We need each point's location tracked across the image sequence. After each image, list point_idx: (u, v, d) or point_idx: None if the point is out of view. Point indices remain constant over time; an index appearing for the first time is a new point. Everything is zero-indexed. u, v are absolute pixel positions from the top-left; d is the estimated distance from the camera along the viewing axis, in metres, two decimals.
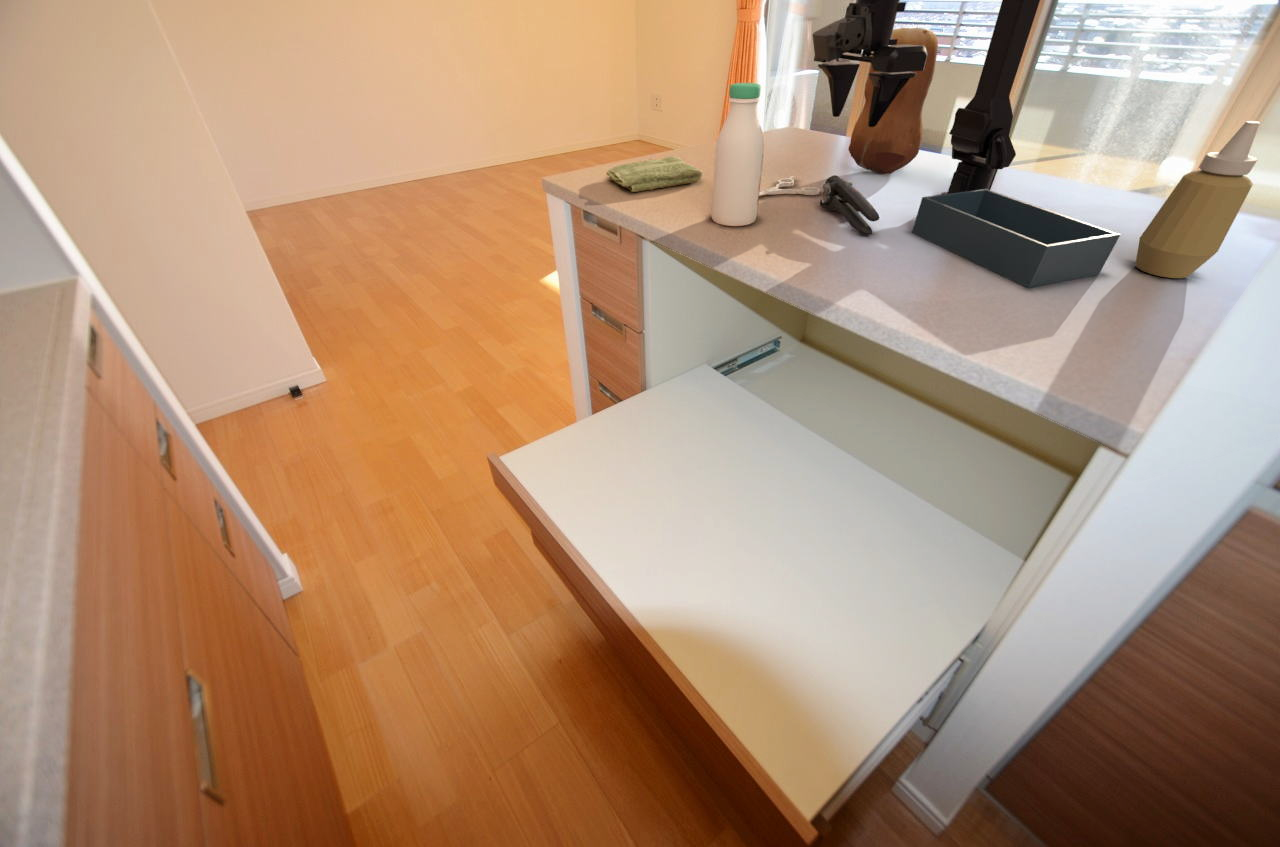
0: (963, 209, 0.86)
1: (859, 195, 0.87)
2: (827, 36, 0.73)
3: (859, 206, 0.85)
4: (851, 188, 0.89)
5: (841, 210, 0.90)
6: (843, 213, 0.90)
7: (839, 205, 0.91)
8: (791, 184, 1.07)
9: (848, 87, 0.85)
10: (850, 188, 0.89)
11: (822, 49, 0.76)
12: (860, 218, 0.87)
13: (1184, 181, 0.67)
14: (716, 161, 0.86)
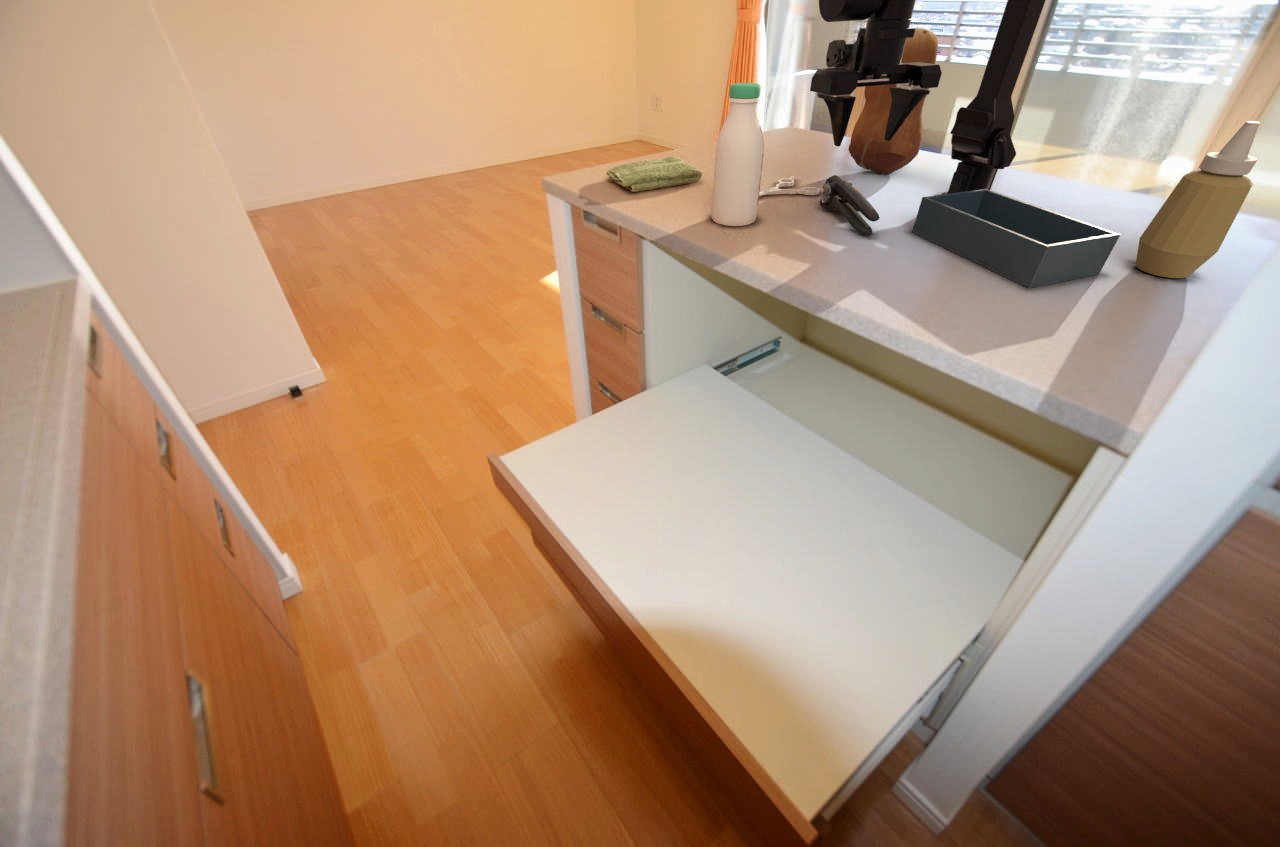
0: (963, 209, 0.86)
1: (859, 195, 0.87)
2: None
3: (860, 206, 0.85)
4: (851, 188, 0.89)
5: (841, 210, 0.90)
6: (843, 213, 0.90)
7: (839, 205, 0.91)
8: (791, 184, 1.07)
9: (900, 113, 0.82)
10: (850, 188, 0.89)
11: None
12: (860, 218, 0.87)
13: (1184, 181, 0.67)
14: (716, 161, 0.86)
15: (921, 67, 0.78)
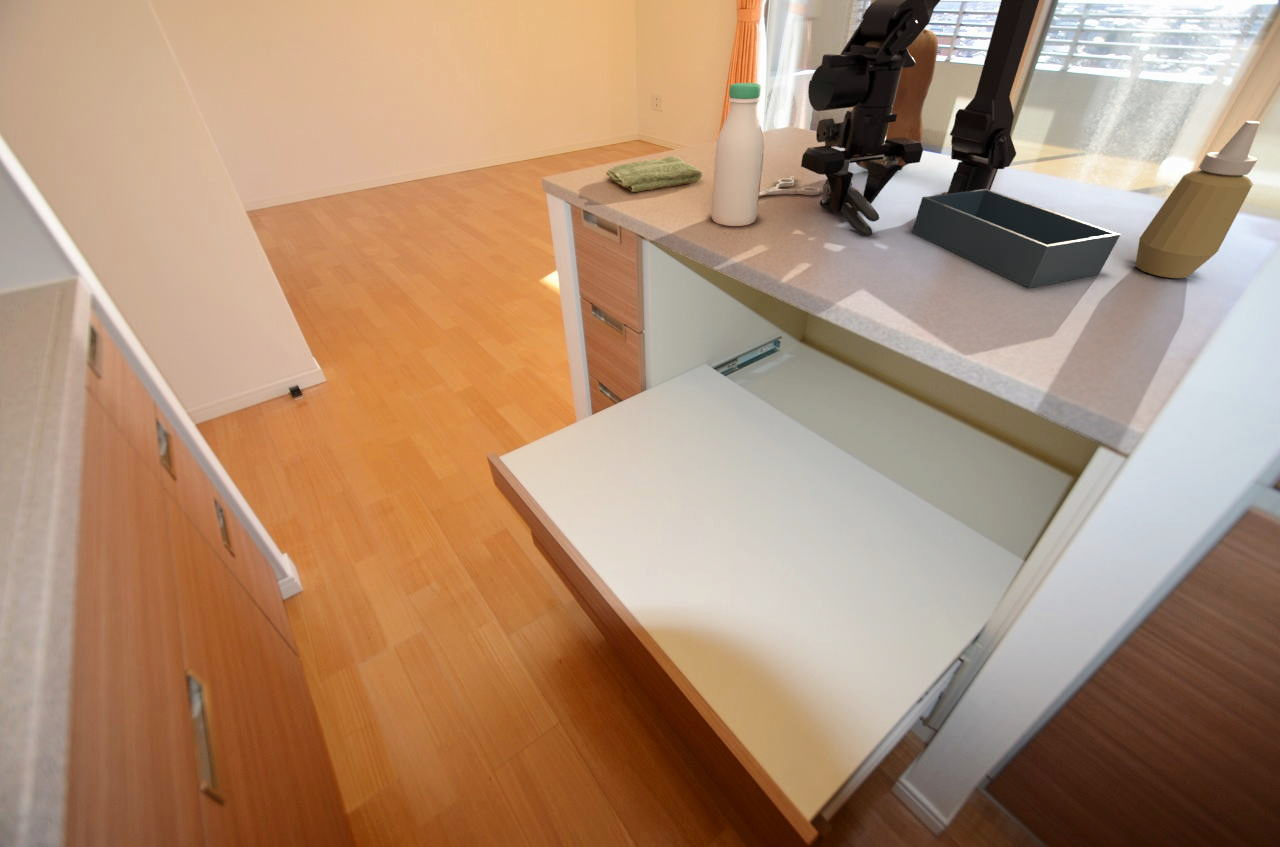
0: (963, 209, 0.86)
1: (859, 195, 0.87)
2: None
3: (859, 206, 0.85)
4: (851, 188, 0.89)
5: (841, 210, 0.90)
6: (843, 213, 0.90)
7: None
8: (791, 184, 1.07)
9: (875, 186, 0.88)
10: (850, 188, 0.89)
11: None
12: (860, 218, 0.87)
13: (1184, 181, 0.67)
14: (716, 161, 0.86)
15: (904, 145, 0.84)
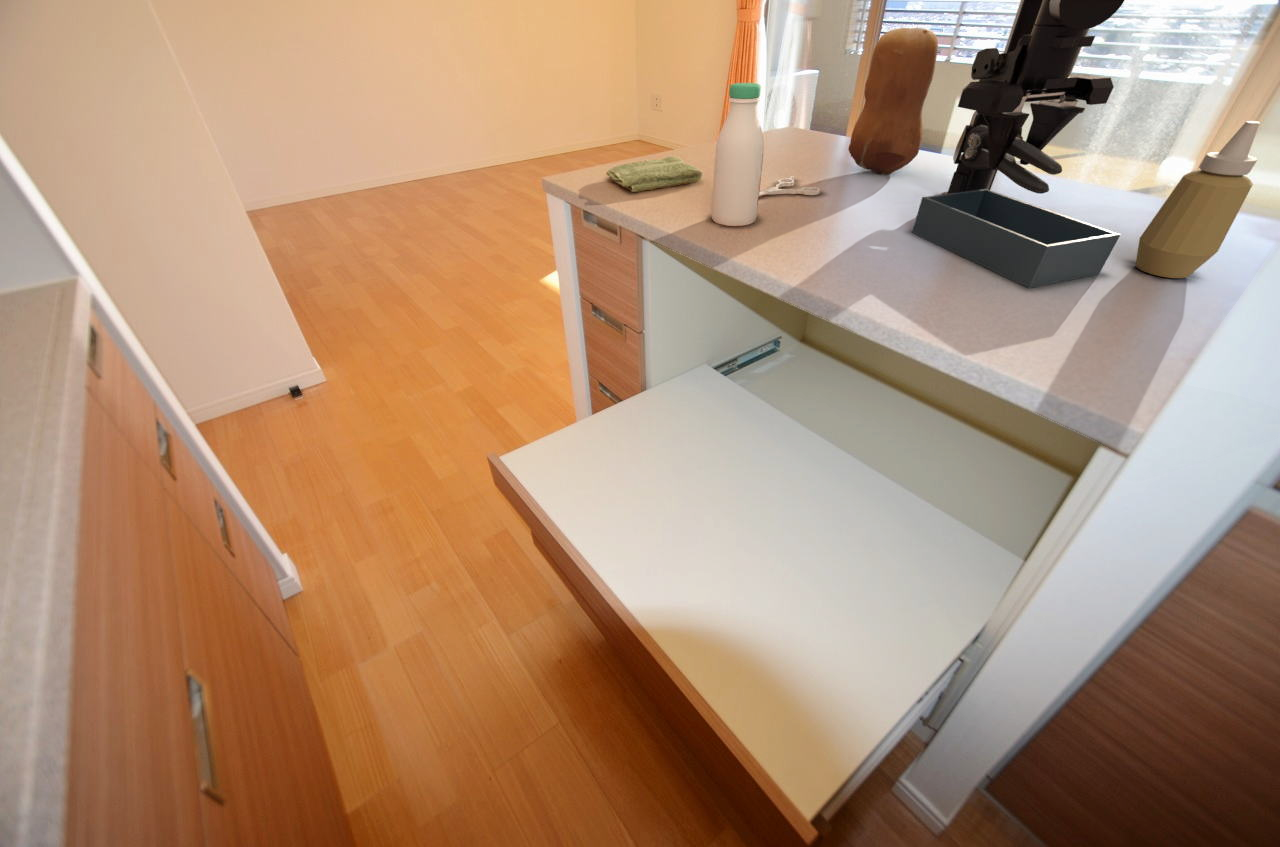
0: (963, 209, 0.86)
1: (1028, 144, 0.70)
2: None
3: (1033, 157, 0.68)
4: None
5: None
6: (1002, 168, 0.72)
7: None
8: (791, 184, 1.07)
9: (1045, 134, 0.71)
10: None
11: None
12: (1030, 172, 0.70)
13: (1184, 181, 0.67)
14: (716, 161, 0.86)
15: (1091, 80, 0.67)
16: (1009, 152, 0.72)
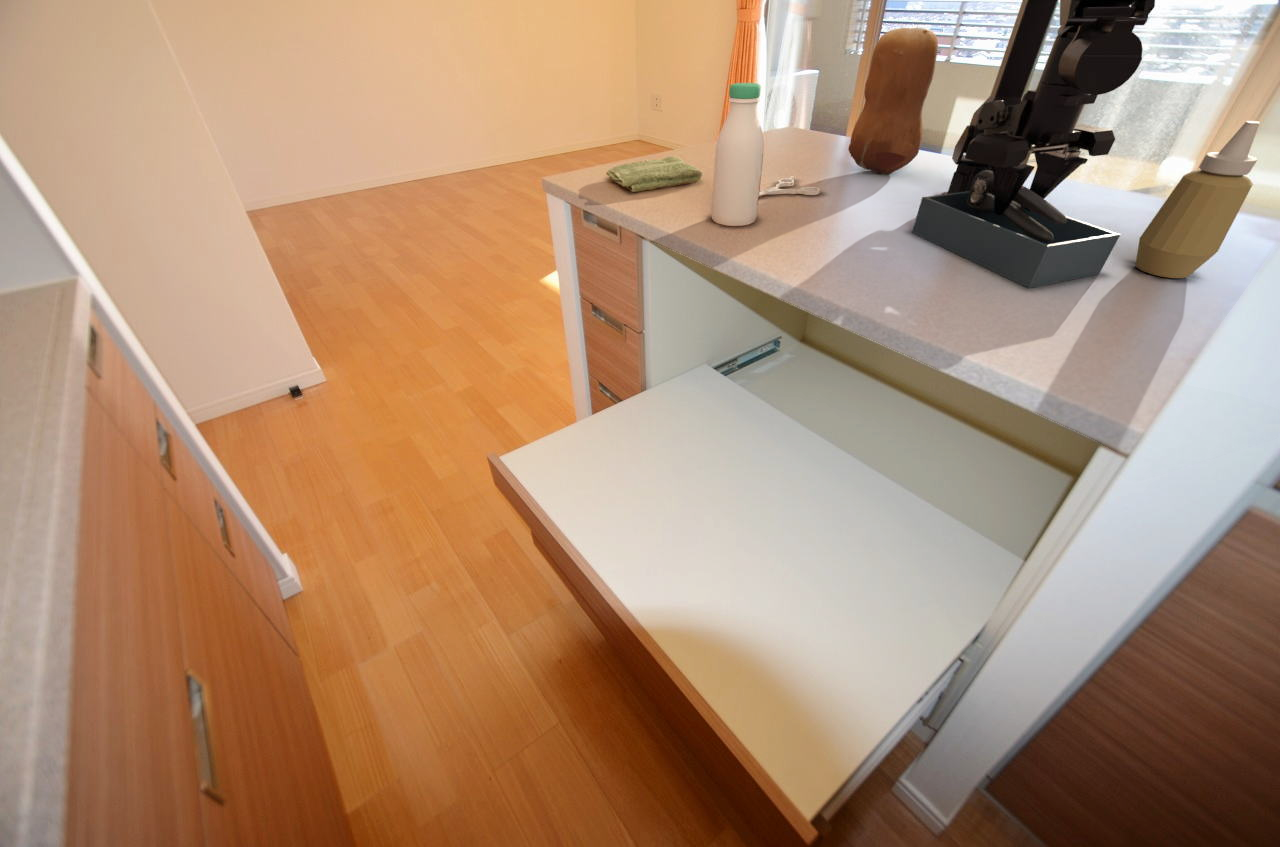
0: (963, 209, 0.86)
1: (1033, 193, 0.72)
2: None
3: (1039, 207, 0.70)
4: None
5: None
6: (1007, 215, 0.75)
7: None
8: (791, 184, 1.07)
9: (1049, 183, 0.73)
10: None
11: None
12: (1035, 221, 0.72)
13: (1184, 181, 0.67)
14: (716, 161, 0.86)
15: (1094, 133, 0.69)
16: (1014, 200, 0.74)
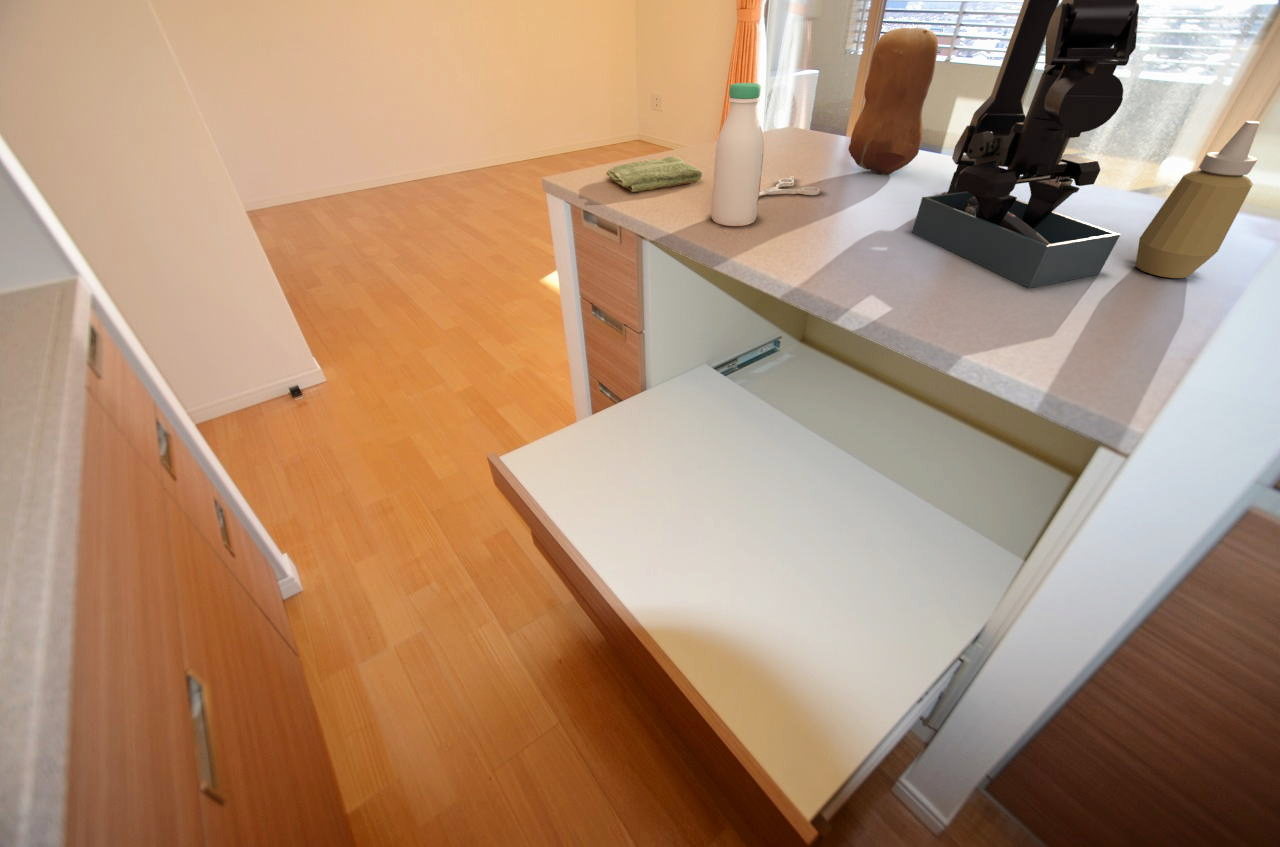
0: None
1: (1021, 222, 0.74)
2: None
3: (1026, 235, 0.73)
4: (1007, 213, 0.76)
5: None
6: None
7: None
8: (791, 184, 1.07)
9: (1043, 210, 0.76)
10: None
11: None
12: None
13: (1184, 181, 0.67)
14: (716, 161, 0.86)
15: (1079, 165, 0.72)
16: (1003, 227, 0.76)
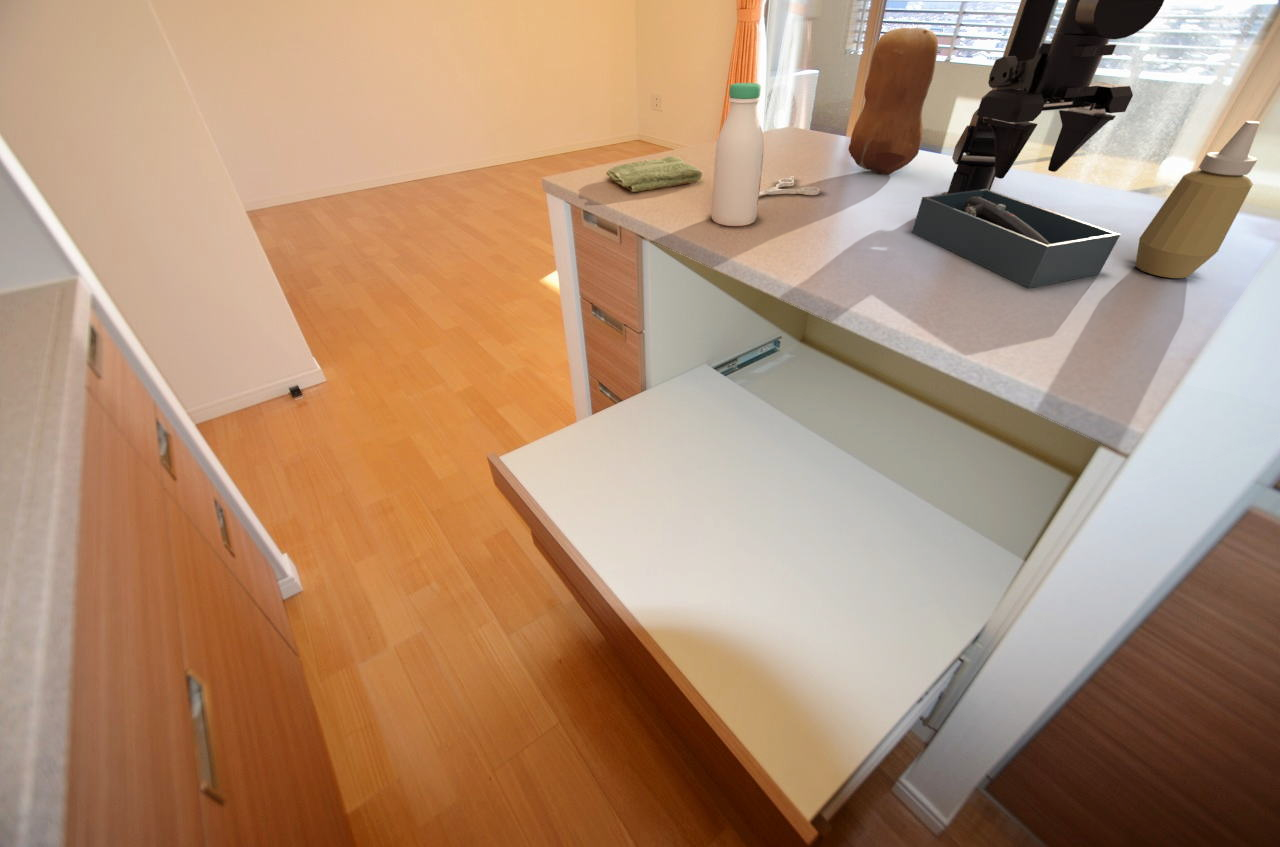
0: None
1: (1021, 221, 0.74)
2: None
3: (1026, 235, 0.73)
4: (1007, 213, 0.76)
5: None
6: None
7: None
8: (791, 184, 1.07)
9: (1075, 141, 0.71)
10: (1006, 213, 0.76)
11: None
12: None
13: (1184, 181, 0.67)
14: (716, 161, 0.86)
15: (1111, 89, 0.67)
16: (1003, 227, 0.76)
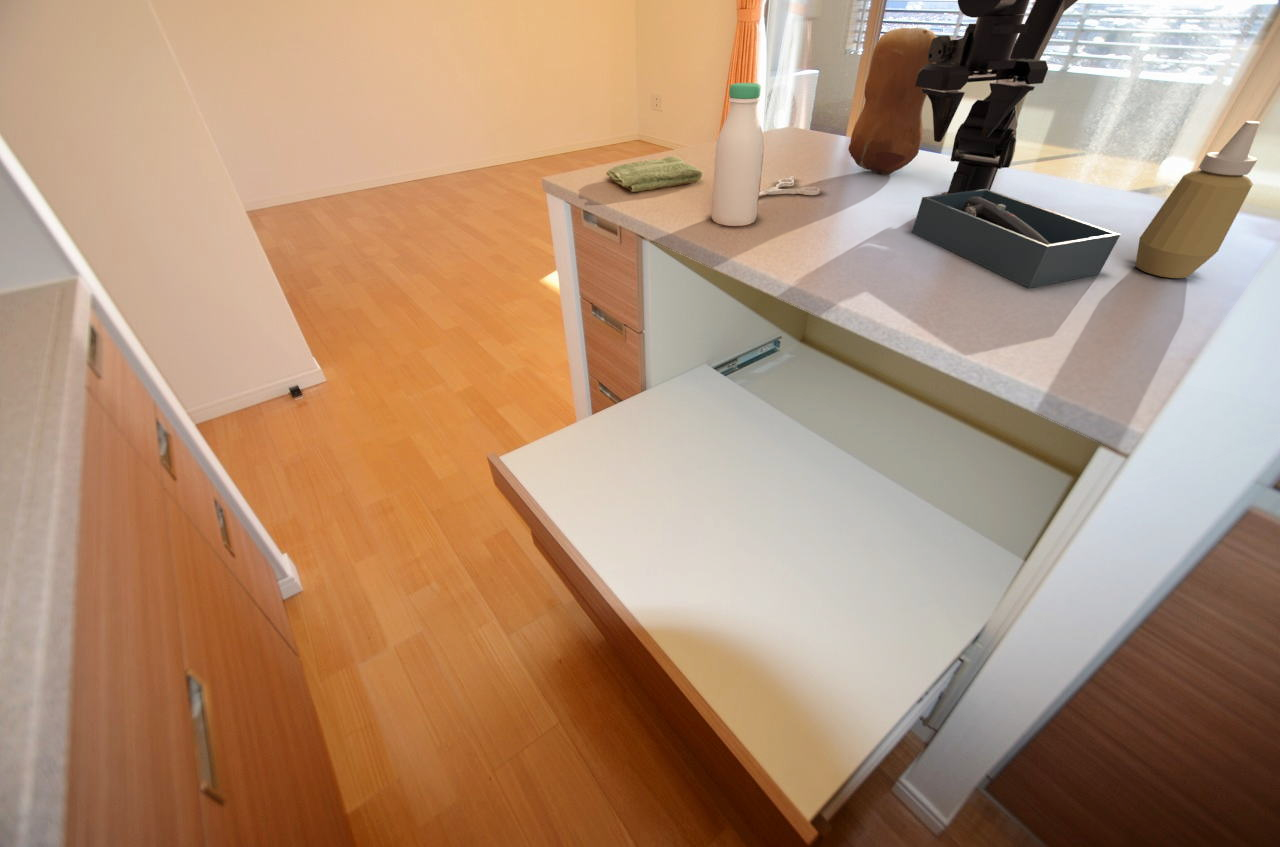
0: None
1: (1021, 221, 0.74)
2: None
3: (1026, 235, 0.73)
4: (1007, 213, 0.76)
5: None
6: None
7: None
8: (791, 184, 1.07)
9: (1002, 109, 0.82)
10: (1006, 213, 0.76)
11: None
12: None
13: (1184, 181, 0.67)
14: (716, 161, 0.86)
15: (1028, 63, 0.78)
16: (1003, 227, 0.76)
